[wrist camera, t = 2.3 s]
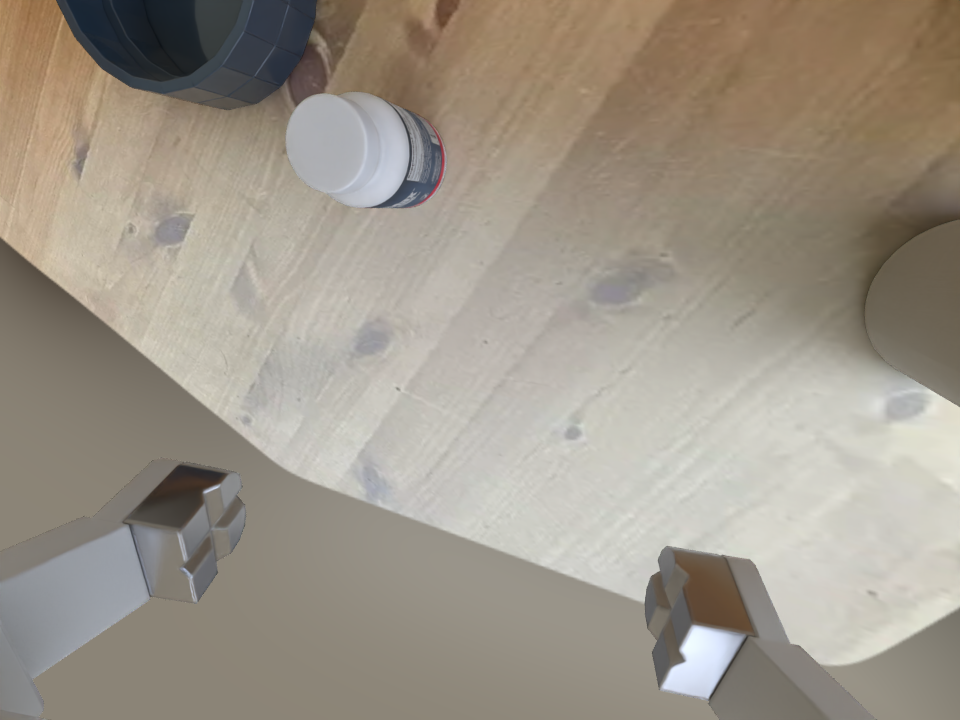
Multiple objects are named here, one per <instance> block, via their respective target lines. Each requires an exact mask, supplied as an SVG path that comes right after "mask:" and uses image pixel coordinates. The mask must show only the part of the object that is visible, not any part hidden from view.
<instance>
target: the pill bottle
mask: <svg viewBox="0 0 960 720" xmlns="http://www.w3.org/2000/svg"><path fill="white" fill-rule="evenodd" d="M285 141H286V151H287V155H288V159H289V162H290V164H291V166H292V168H293V170H294V171H295V173H296V174H297V175H298V177H299V178H300V179H301V180H302V181H303V182H304V183H305V184H307V185H308V186H309V187H311V188H313V189H315V190H318V191H321V192H325V193H327V194H328V195H329V196H330V197H331V198H333V199H334V200H336V201H337V202H339V203H342V204H344V205H347V206H351V207H357V208H412V207H416V206H419V205H421V204H423V203H425V202H427V201H428V200H429V199H430V198H432V197H433V196H434V195H435V193H436V192H437V191H438V189H439V188H440V186H441V184H442V182H443V179H444V176H445V172H446V163H447V159H446V151H445V146H444V143H443V141H442V138H441V136H440V134H439V133H438V131H437V130H436V129H435V127H434V126H433V125H432V124H431V123H430V122H429V121H427V120H426V119H425V118H423V117H421V116H419V115H418V114H415V113H413V112H411V111H408V110H406V109H404V108H401V107H399V106H397V105H395V104H392V103H390V102H388V101H386V100H384V99H382V98H380V97H377V96H375V95H372V94H369V93H364V92H346V93H343V94H339V95H333V94H325V93H322V94H316V95H312V96H310V97H308V98H306V99H305V100H303V101H302V102H301V103H300V104H299V105H298V106H297V107H296V108H295V109H294V111H293V112H292V114H291V116H290V118H289V121H288V124H287V129H286V136H285Z"/></svg>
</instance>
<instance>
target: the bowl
mask: <svg viewBox="0 0 960 720" xmlns="http://www.w3.org/2000/svg"><path fill="white" fill-rule="evenodd" d="M56 1H57V3H58V5H59V7H60V9H61V11H62V13H63V15H64V17H65V19H66V21H67V23H68V25H69V27H70V29H71V31H72V33H73V35H74V37H75V38H76V39H77V41H78V42H79V43H80V44H81V45H82V46H83V48H84V49H85V50H86V51H87V52H88V53H89V55H90V56H91V57H92V58H93V59H94V60H95V62H96V63H97V64H98V65H99V66H100V67H101V68H102V69H103V70H104V71H106V72H108V73H109V74H111V75H112V76H114V77H115V78H117V79H118V80H120V81H122V82H123V83H125V84H126V85H128V86H129V87H131V88H134V89H138V90H142V91H146V92H151V93H155V94H159V95H163V96H167V97H171V98H175V99H179V100H183V101H187V102H191V103H195V104H199V105H204V106H209V107H214V108H219V109H224V110H231V109H236V108H240V107H245V106H250V105H255V104H257V103H258V102H260V101H261V100H263V99H264V98H266V97H267V96H268V95H270V94H271V93H273V92H274V91H276V90H277V89H279V88H280V87H281V86H282V85H283V84H284V82H285V81H286V79H287V78H288V77H289V75H290V74H291V72H292V71H293V70H294V68H295V67H296V65H297V64H298V63H299V61H300V60H301V57H302V56H303V53H304V50H305V47H306V45H307V42H308V39H309V36H310V33H311V30H312V27H313V24H314V21H315V16H316V4H317V0H56Z"/></svg>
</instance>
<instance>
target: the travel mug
mask: <svg viewBox="0 0 960 720" xmlns="http://www.w3.org/2000/svg"><path fill="white" fill-rule="evenodd" d="M865 325H866V329H867V333H868V336H869V338H870V341H871V343H872V344H873V346H874V348H875V349H876V351H877V352H878V354H879V355H880V356H881V357H882V358H883V359H884V360H885V361H886V362H887V363H889V364H890V365H891V366H893V367H894V368H895V369H897V370H899V371H900V372H902V373H904V374H905V375H907V376H909V377H910V378H912V379H914V380H915V381H917V382H919V383H920V384H922V385H924V386H925V387H927V388H929V389H930V390H932V391H934V392H935V393H937V394H939V395H940V396H942V397H944V398H946V399H947V400H949V401H951V402H952V403H954V404H956V405H957V406H959V407H960V220H955V221H951V222H948V223H945V224H942V225H939V226H936V227H934V228H931V229H929V230H927V231H925V232H923V233H921V234H919V235H918V236H916V237H914V238H913V239H911V240H910V241H908V242H907V243H905V244H904V245H903V246H901V247H900V248H899V249H898V250H897V251H896V252H895V253H894V254H893V255H891V256H890V257H889V259H888V260H887V261H886V262H885V263H884V264H883V266H882V267H881V268H880V270H879V271H878V273H877V275H876V276H875V278H874V280H873V282H872V284H871V286H870V289H869V292H868V295H867V299H866V303H865Z"/></svg>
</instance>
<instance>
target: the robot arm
mask: <svg viewBox="0 0 960 720" xmlns="http://www.w3.org/2000/svg"><path fill="white" fill-rule="evenodd" d="M241 489H242V481H241V476H240V474H239V473H237V472H234V471H230V470H226V469H221V468H215V467H211V466H205V465H201V464H196V463H190V462H182V461H178V460H172V459H168V458H163V457H161V458H158V459H156V460H153V461H151V462H150V463H149V464H148V465H147V466H146V467H145V468H144V469H143V470H142V471H141V472H140V473H139V474H137V475H136V476H135V477H134V478H133V479H132V480H131V481H130V482H129V483H128V484H127V485H126V486H125V487H124V488H123V489H122V490H120V491H119V492H118V493H117V494H116V495H115V496H114V497H113V498H112V499H111V500H110V501H109V502H108V503H107V504H106V505H104V506H103V507H102V508H101V509H100V510H99V511H98V512H97V513H96V514H95V515H94V516H93V517H92V518H90V517H84V516H83V517H81V518H78V519H76V520H74V521H71V522H69V523H66V524H64V525H62V526H59V527H57V528H55V529H52V530H50V531H47V532H45V533H42V534H40V535H38V536H35V537H33V538H30V539H28V540H26V541H23V542H21V543H18V544H16V545H14V546H12V547H9V548H7V549H4V550H2V551H0V720H49V719H44V718H39V716H40V714H41V713H42V712H43V710H44V701H43V699H42V697H41V695H40V693H39V691H38V689H37V688H36V686H35V684H34V682H33V680H32V679H34V678H35V677H37V676H38V675H40V674H41V673H43V672H44V671H45V670H47V669H48V668H50V667H51V666H53V665H54V664H56V663H57V662H59V661H60V660H61V659H63V658H65V657H66V656H68V655H69V654H70V653H72V652H73V651H75V650H76V649H78V648H79V647H81V646H82V645H84V644H85V643H87V642H88V641H90V640H91V639H93V638H94V637H95V636H97V635H98V634H100V633H102V632H103V631H105V630H106V629H107V628H109V627H110V626H112V625H113V624H115V623H116V622H118V621H119V620H121V619H122V618H124V617H125V616H127V615H128V614H130V613H131V612H133V611H134V610H136V609H137V608H138V607H140V606H141V605H143V604H144V603H146V602H147V601H149V600H150V597H156V598H162V599H169V600H175V601H181V602H188V603H194V604H197V602H198V601H199V599H200V598H201V597H202V595H203V594H204V592H205V591H206V589H207V588H208V586H209V585H210V583H211V582H212V581H213V579H214V578H215V576H216V575H217V573H218V571H217V561H218V560H220V559H222V558H224V557H225V556H227V555H229V554H231V552H232V551H233V549H234V548H235V546H236V545H237V543H238V542H239V540H240V537H241V534H242V532H243V529H244V527H245V520H246V508H245V504H244V503H243V502H242V500H241V499H240V498H239V497H238V496H237V494H238V493H239V491H240V490H241ZM658 563H659V567H660V571H659V572H657V573H656V574H654V575H652V576H651V578H650V581H649V583H648V586H647V589H646V597H645V616H646V622H647V628H648V630H649V631H650V632H651V633H652V635H653V636H654V637H655V638H656V640H657V643H656V645H655V647H654V649H653V652H652V654H653V660H654V665H655V670H656V676H657V681H658V686H659V690H661V691H666V692H671V693H675V694H679V695H684V696H689V697H693V698H698V699H703V700H707V701H709V705H710V706H711V708H712V709H713V711H714V713H715V714H716V715H717V717H718V718H719V720H877V719H876V718H875V717H874V716H873V715H871V714H870V713H869V712H868V711H867V710H866V709H865V708H864V707H863V706H862V705H861V704H860V703H859V702H858V701H857V700H856V699H855V698H853V696H851V694H850V693H848V692H847V691H846V690H845V689H844V688H843V687H842V686H841V685H840V684H839V683H838V682H837V681H836V680H835V679H834V678H832V676H830V674H829V673H828V672H826V670H824V669H823V668H822V667H821V666H820V665H819V664H818V663H817V662H816V661H815V660H814V659H813V658H812V657H811V656H810V655H809V654H808V653H807V652H806V651H805V650H804V649H803V648H801V647H800V646H799V645H794V644H790V642H789V639H788V637H787V635H786V633H785V630H784V628H783V626H782V624H781V621H780V619H779V617H778V615H777V612H776V610H775V608H774V606H773V603H772V601H771V599H770V597H769V594H768V592H767V590H766V588H765V585H764V583H763V581H762V579H761V576H760V574H759V572H758V570H757V568H756V565H755V564H754V563H753V562H752V561H751V560H750V559H744V558H738V557H731V556H725V555H718V554H713V553H707V552H701V551H695V550H689V549H682V548H676V547H670V546H666V547H665V548H664V549H663V550H662V551H661V554H660V556H659V558H658Z"/></svg>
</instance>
